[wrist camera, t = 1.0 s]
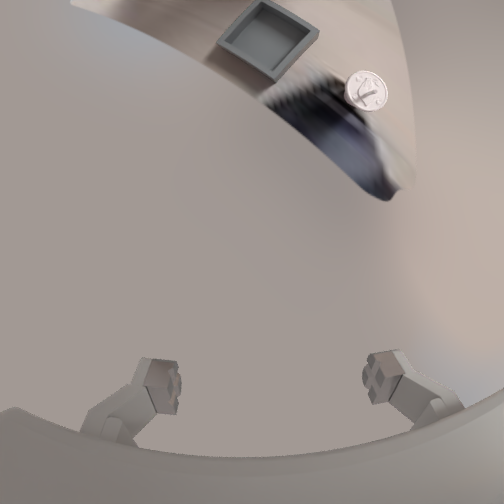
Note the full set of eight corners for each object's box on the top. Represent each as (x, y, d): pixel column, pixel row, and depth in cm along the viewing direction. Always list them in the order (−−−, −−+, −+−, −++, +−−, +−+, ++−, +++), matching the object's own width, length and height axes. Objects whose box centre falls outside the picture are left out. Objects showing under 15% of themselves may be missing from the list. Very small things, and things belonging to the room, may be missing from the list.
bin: (222, 48, 39) (215, 42, 35) (263, 4, 33) (260, -5, 29) (276, 83, 41) (274, 79, 37) (317, 38, 35) (319, 30, 31)
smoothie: (334, 109, 41) (350, 105, 29) (337, 76, 38) (353, 60, 26) (369, 116, 41) (396, 115, 28) (372, 83, 38) (399, 71, 25)
